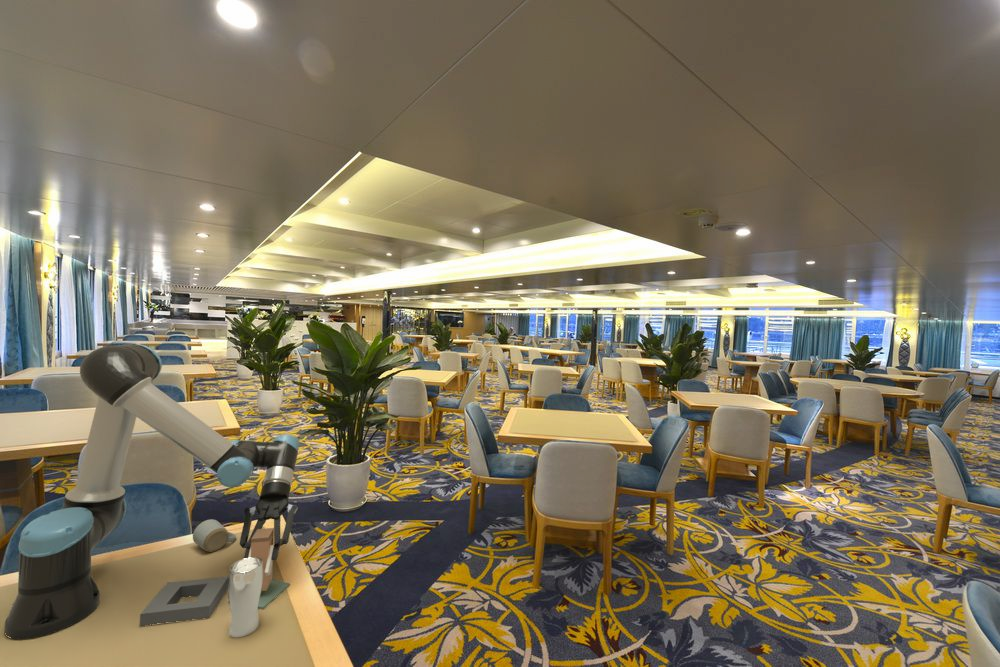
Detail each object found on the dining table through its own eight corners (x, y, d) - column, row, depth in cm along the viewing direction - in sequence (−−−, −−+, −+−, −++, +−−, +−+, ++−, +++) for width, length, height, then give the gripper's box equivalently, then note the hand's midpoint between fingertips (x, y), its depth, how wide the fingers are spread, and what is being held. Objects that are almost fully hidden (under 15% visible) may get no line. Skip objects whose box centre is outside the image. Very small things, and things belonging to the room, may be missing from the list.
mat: (228, 603, 103) (228, 600, 103) (258, 579, 113) (258, 577, 113) (263, 609, 101) (263, 607, 101) (290, 585, 111) (290, 582, 111)
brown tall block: (249, 592, 104) (251, 538, 104) (255, 580, 109) (257, 529, 109) (266, 590, 106) (268, 537, 105) (272, 578, 110) (273, 527, 110)
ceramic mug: (203, 557, 123) (204, 531, 123) (191, 548, 127) (193, 523, 127) (240, 543, 132) (242, 519, 132) (228, 535, 136) (230, 512, 136)
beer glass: (235, 644, 90) (237, 577, 90) (220, 630, 94) (222, 566, 94) (267, 625, 96) (269, 562, 96) (251, 613, 100) (254, 553, 100)
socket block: (139, 626, 94) (140, 613, 94) (167, 593, 106) (167, 582, 106) (209, 618, 98) (209, 605, 98) (228, 587, 109) (228, 576, 109)
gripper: (309, 489, 124) (295, 575, 108) (247, 493, 120) (222, 583, 104) (307, 478, 119) (291, 567, 103) (241, 481, 115) (214, 574, 99)
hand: (257, 574), depth 104 cm, fingers closed on brown tall block, 4 cm apart
